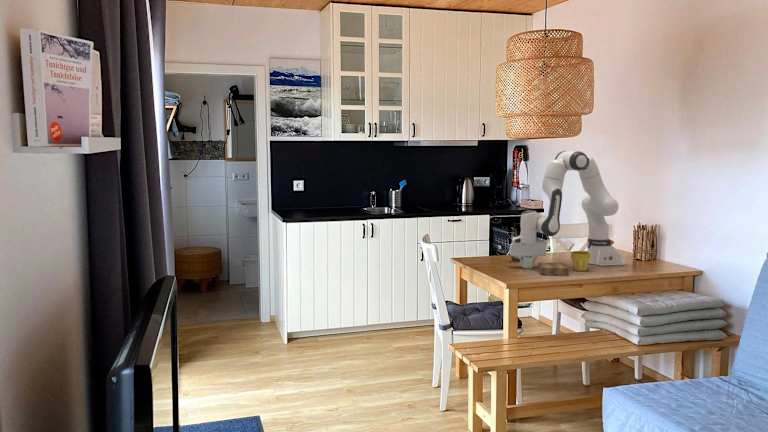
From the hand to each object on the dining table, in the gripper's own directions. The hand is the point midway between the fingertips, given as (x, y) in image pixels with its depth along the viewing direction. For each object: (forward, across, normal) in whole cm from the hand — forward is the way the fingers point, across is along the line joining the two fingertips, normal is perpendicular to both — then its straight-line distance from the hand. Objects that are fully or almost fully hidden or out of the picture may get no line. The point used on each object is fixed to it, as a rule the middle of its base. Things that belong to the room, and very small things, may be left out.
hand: (527, 263), depth 365 cm
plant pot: (+2, -28, +5) cm, 29 cm away
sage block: (+2, 0, 0) cm, 2 cm away
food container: (+2, +3, -17) cm, 17 cm away
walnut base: (+2, -12, +14) cm, 19 cm away
